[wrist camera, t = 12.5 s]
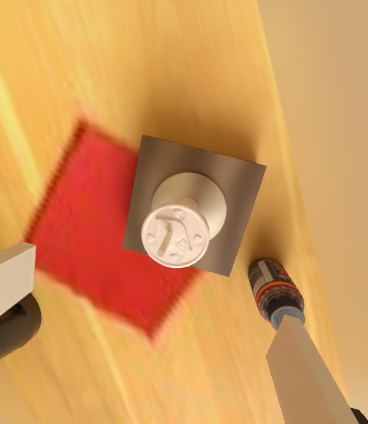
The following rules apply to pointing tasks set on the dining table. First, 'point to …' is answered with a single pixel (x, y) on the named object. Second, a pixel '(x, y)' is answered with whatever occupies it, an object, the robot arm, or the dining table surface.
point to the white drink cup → (176, 233)
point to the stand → (195, 195)
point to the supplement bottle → (275, 292)
